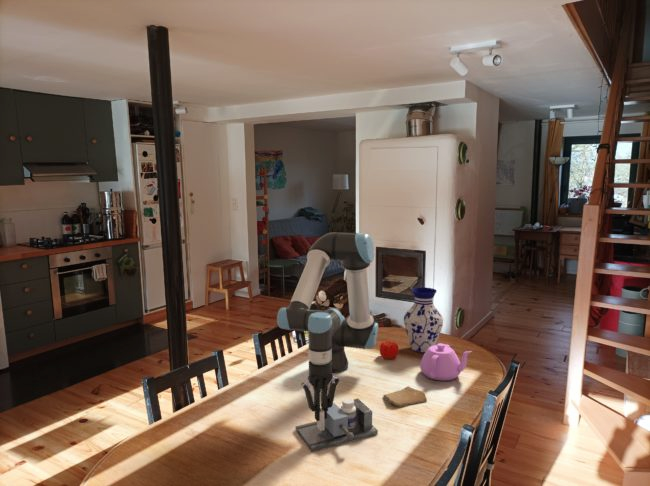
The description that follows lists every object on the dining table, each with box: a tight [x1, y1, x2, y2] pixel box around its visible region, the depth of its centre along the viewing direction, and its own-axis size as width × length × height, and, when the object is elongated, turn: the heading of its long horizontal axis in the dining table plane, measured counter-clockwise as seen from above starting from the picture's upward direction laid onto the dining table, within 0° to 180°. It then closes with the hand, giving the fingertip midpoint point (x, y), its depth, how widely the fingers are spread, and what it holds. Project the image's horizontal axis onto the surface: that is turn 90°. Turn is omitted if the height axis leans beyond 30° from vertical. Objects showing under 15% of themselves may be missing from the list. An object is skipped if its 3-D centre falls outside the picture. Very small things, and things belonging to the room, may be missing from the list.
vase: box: [403, 286, 444, 354], centre depth 231 cm, size 19×19×30 cm
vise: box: [295, 398, 379, 453], centre depth 158 cm, size 14×24×8 cm, turn 115°
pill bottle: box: [340, 397, 356, 429], centre depth 159 cm, size 5×5×9 cm
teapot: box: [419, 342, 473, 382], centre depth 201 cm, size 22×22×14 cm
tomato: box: [379, 340, 399, 360], centre depth 222 cm, size 9×9×8 cm
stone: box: [383, 386, 428, 408], centre depth 182 cm, size 11×16×3 cm
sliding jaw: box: [320, 402, 354, 440], centre depth 154 cm, size 18×5×6 cm, turn 25°
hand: (320, 428), depth 156 cm, fingers closed
